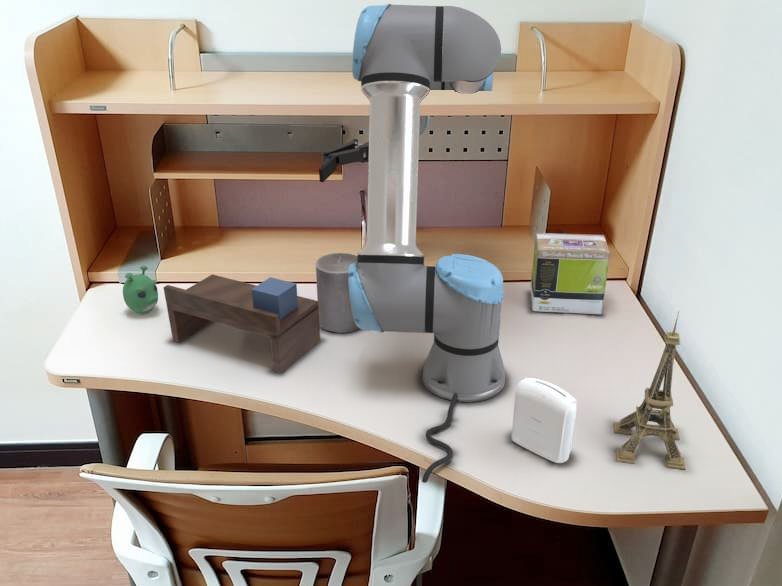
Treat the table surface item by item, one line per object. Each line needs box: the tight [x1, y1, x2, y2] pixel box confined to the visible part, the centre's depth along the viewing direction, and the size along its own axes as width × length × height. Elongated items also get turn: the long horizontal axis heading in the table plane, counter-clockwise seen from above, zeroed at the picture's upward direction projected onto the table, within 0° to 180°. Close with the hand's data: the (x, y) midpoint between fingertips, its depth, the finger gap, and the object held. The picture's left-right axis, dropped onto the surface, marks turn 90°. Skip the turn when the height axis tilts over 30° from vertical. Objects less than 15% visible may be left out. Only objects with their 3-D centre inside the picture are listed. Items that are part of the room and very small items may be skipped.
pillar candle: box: [314, 252, 360, 334], centre depth 155 cm, size 10×10×15 cm
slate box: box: [252, 276, 298, 320], centre depth 143 cm, size 6×6×5 cm
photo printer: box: [511, 377, 578, 464], centre depth 121 cm, size 10×4×12 cm, turn 47°
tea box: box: [530, 232, 611, 315], centre depth 164 cm, size 15×10×15 cm, turn 84°
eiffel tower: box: [613, 310, 687, 471], centre depth 118 cm, size 11×11×25 cm
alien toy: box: [122, 264, 159, 315], centre depth 159 cm, size 7×8×10 cm
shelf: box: [163, 274, 321, 374], centre depth 149 cm, size 26×14×12 cm, turn 63°
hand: (352, 181), depth 149 cm, fingers open, 13 cm apart
